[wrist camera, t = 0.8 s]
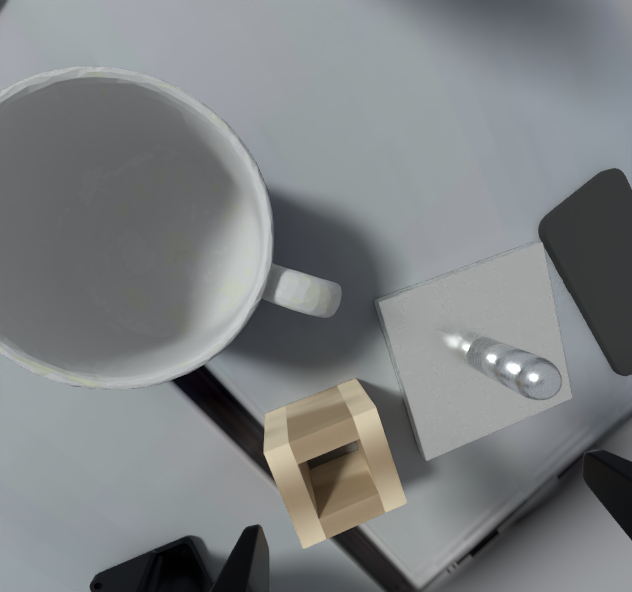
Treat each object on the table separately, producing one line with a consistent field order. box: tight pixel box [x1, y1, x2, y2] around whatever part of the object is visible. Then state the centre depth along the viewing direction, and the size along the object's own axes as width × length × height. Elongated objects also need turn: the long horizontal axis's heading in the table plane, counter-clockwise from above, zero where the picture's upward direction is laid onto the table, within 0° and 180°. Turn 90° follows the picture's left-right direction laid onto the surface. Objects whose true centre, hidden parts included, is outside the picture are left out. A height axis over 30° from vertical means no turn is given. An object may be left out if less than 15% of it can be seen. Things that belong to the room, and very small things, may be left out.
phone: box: [538, 168, 632, 376], centre depth 22 cm, size 7×1×15 cm
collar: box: [264, 378, 407, 549], centre depth 19 cm, size 6×6×4 cm
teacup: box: [0, 66, 342, 390], centre depth 14 cm, size 14×11×8 cm
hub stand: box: [373, 242, 572, 461], centre depth 18 cm, size 12×12×6 cm
